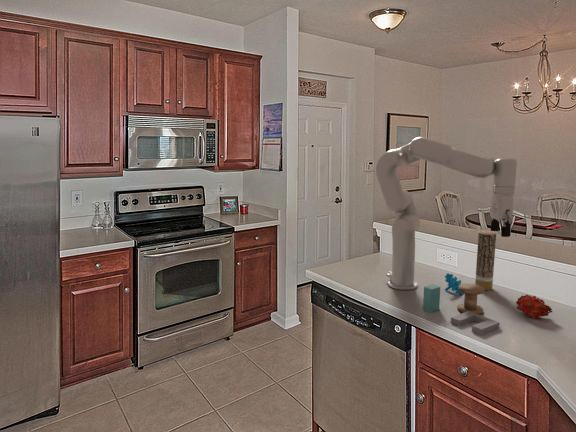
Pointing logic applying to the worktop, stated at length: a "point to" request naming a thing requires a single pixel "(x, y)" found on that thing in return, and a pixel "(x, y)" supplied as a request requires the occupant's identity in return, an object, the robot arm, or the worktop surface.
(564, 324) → the worktop surface
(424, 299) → the teal tab
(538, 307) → the dragon fruit
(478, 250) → the paper tube
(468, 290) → the door knob
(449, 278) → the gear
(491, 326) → the notched board
